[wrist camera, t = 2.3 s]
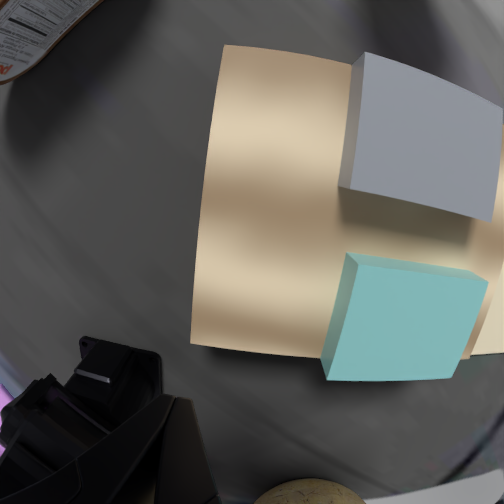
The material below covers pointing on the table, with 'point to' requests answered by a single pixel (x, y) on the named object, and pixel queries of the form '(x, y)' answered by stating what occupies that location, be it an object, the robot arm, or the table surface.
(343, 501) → the fossilized egg
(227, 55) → the wooden block
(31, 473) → the robot arm
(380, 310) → the teal block
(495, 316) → the mat
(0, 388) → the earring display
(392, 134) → the gray rectangular block
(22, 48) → the tin
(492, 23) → the table surface
